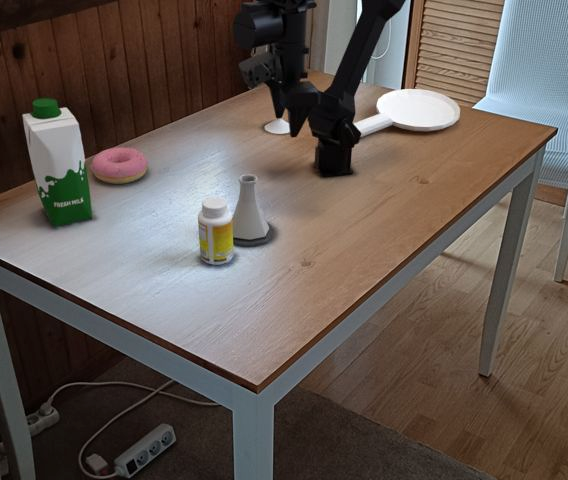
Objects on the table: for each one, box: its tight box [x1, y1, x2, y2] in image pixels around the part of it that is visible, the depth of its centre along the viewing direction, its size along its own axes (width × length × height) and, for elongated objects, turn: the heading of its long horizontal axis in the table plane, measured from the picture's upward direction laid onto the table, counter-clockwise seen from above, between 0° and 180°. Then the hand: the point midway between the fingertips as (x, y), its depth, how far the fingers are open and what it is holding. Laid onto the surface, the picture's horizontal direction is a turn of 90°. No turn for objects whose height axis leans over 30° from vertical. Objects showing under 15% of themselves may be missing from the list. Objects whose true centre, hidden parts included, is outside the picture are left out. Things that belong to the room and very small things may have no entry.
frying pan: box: [353, 88, 461, 139], centre depth 167 cm, size 35×19×5 cm, turn 128°
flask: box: [232, 173, 269, 240], centre depth 127 cm, size 7×7×10 cm
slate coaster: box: [233, 222, 275, 248], centre depth 131 cm, size 9×9×1 cm
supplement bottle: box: [197, 196, 234, 266], centre depth 121 cm, size 6×6×10 cm
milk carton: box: [21, 97, 93, 228], centre depth 129 cm, size 9×9×20 cm
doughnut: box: [90, 146, 149, 185], centre depth 146 cm, size 11×11×4 cm
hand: (286, 127), depth 136 cm, fingers open, 9 cm apart
